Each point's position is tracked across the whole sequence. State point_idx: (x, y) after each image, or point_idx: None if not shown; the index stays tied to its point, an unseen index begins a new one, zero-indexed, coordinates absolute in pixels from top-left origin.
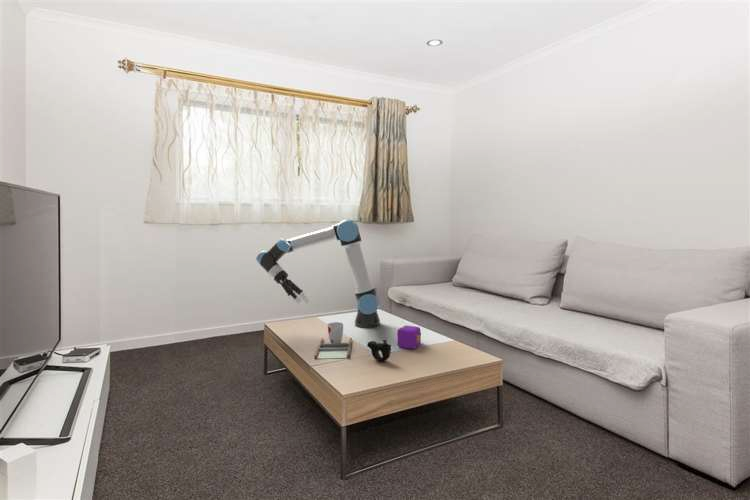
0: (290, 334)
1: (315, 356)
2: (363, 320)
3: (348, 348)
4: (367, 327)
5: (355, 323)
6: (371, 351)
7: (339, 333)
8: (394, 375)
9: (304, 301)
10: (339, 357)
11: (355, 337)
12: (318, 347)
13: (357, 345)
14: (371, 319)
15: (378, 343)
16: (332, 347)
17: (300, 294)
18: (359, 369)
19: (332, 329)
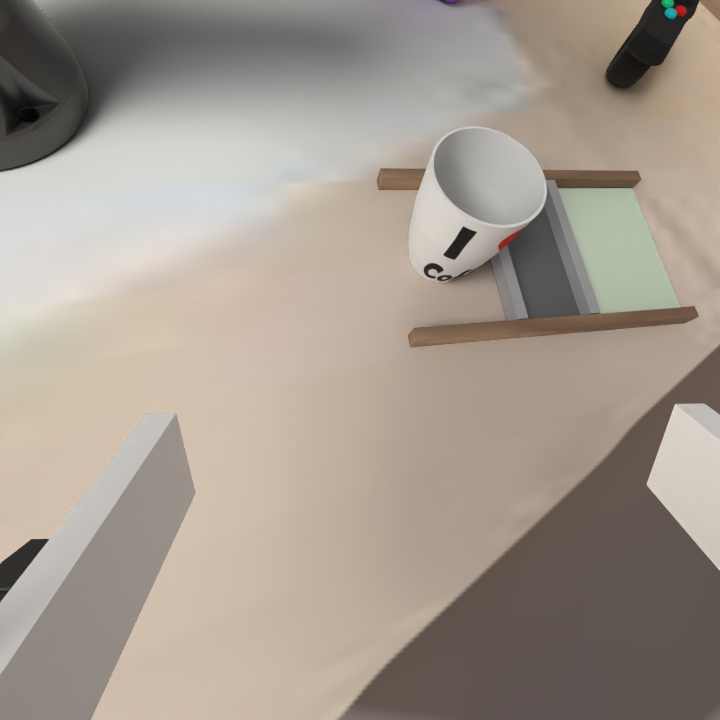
0: (252, 665)
1: (694, 312)
2: (50, 72)
3: (558, 176)
4: (88, 97)
5: (2, 155)
6: (644, 72)
7: (495, 188)
8: (715, 54)
9: (173, 532)
10: (640, 216)
11: (316, 164)
12: (583, 322)
13: None
14: (47, 19)
15: (684, 7)
16: (521, 262)
17: (50, 717)
18: (713, 144)
19: (532, 206)
